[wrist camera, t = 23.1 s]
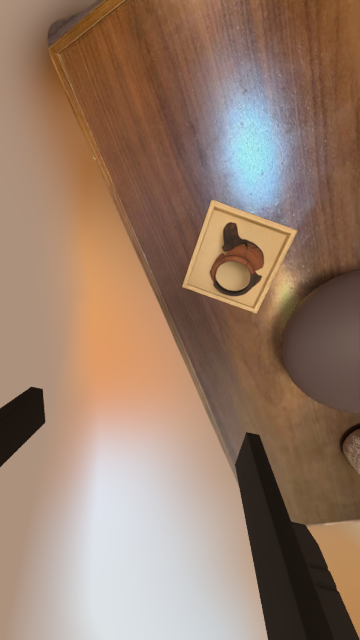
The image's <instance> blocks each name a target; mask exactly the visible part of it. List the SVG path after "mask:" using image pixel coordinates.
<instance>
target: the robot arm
mask: <svg viewBox="0 0 360 640" xmlns="http://www.w3.org/2000/svg"><path fill="white" fill-rule="evenodd" d="M44 423H45V413H44V401H43V389H40V388H35V387H30V388H29V389H28V390H26V391H25V392H23V393H22V394H20V395H19V396H18V397H16V398H15V399H13V400H12V401H10V402H9V403H7V404H6V405H5V406H3V407H2V408H0V467H1V466H2V465H3V464H4V463H5V462H6V461H7V460H8V459H9V458H10V457H11V456H12V455H13V454H14V453H15V452H16V451H17V450H18V449H19V448H20V447H21V446H22V445H23V444H24V443H25V442H26V441H27V440H28V439H29V438H30V437H31V436H32V435H33V434H34V433H35V432H36V431H37V430H38V429H39V428H40V427H41V426H42V425H43V424H44ZM235 466H236V472H237V477H238V482H239V487H240V492H241V498H242V503H243V508H244V514H245V519H246V524H247V530H248V535H249V540H250V545H251V551H252V556H253V562H254V567H255V572H256V577H257V583H258V588H259V593H260V599H261V604H262V609H263V614H264V620H265V625H266V630H267V636H268V640H359V637H358V635H357V633H356V630H355V628H354V626H353V624H352V621H351V619H350V617H349V614H348V612H347V610H346V607H345V605H344V603H343V601H342V598H341V596H340V594H339V592H338V591H337V589H336V585H335V582H334V580H333V578H332V575H331V573H330V571H329V570H328V566H327V564H326V562H325V559H324V557H323V555H322V552H321V550H320V548H319V546H318V544H317V542H316V541H315V539H314V538H313V536H312V535H311V533H310V532H309V530H308V529H307V527H306V526H305V525H303V524H299V523H295V522H291V520H290V518H289V515H288V512H287V509H286V507H285V504H284V501H283V499H282V496H281V493H280V490H279V488H278V485H277V482H276V480H275V477H274V474H273V471H272V469H271V466H270V463H269V461H268V458H267V455H266V452H265V450H264V447H263V444H262V442H261V439H260V436H259V435H257V434H252V433H247V432H246V435H245V438H244V441H243V443H242V446H241V449H240V452H239V455H238V458H237V461H236V464H235Z"/></svg>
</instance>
